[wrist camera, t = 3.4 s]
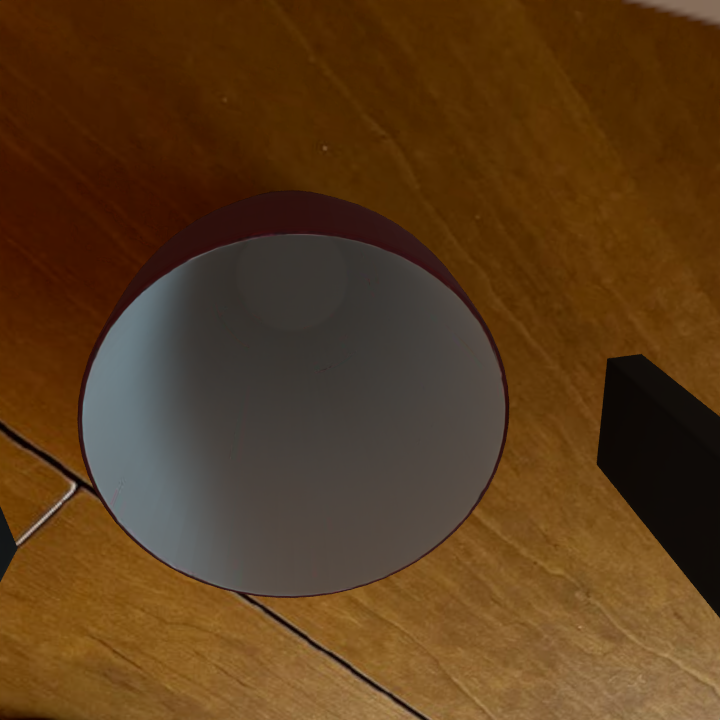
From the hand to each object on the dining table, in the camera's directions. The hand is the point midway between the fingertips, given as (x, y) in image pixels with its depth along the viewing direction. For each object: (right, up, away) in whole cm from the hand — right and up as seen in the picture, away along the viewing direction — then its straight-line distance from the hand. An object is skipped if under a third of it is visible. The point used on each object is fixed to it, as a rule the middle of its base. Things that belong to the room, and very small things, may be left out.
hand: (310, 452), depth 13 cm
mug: (-1, +4, +8) cm, 9 cm away
